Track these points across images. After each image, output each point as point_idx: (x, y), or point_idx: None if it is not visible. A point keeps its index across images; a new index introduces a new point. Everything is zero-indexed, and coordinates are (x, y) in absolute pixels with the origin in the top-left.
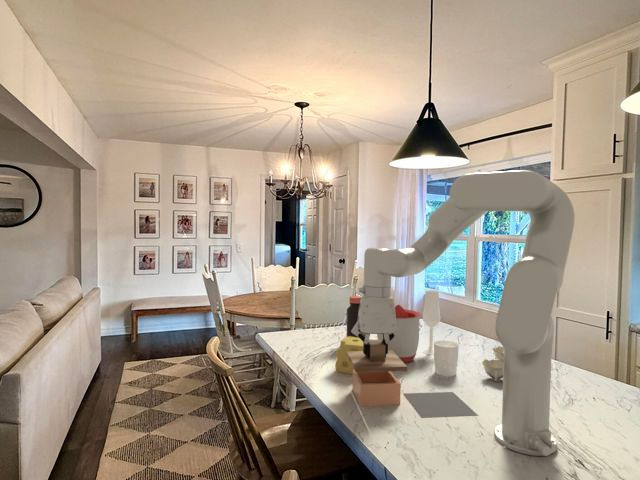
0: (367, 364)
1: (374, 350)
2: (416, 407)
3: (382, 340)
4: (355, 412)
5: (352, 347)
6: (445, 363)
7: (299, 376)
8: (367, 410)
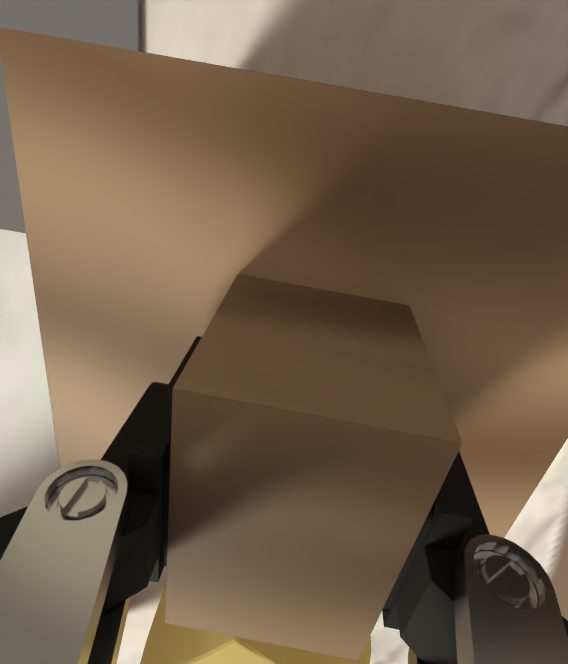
0: (498, 240)
1: (383, 376)
2: (119, 30)
3: (150, 575)
4: (537, 79)
5: (300, 656)
6: None
7: (552, 552)
8: (444, 90)
